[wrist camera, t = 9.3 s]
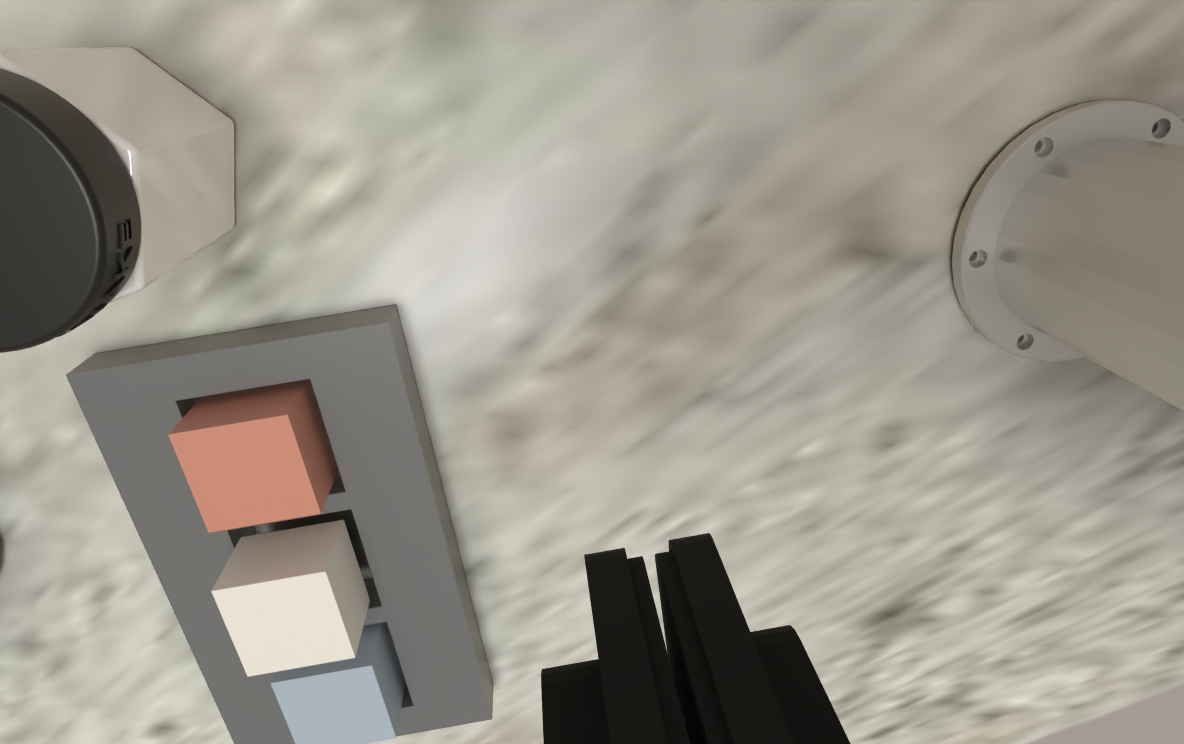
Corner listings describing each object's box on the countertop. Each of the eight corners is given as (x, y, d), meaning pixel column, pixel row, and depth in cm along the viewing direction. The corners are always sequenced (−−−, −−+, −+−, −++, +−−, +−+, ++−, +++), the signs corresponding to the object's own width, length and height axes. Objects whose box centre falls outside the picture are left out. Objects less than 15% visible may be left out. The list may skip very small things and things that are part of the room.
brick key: (310, 376, 36) (287, 414, 32) (339, 468, 38) (320, 513, 34) (203, 394, 36) (168, 434, 32) (238, 485, 38) (208, 532, 34)
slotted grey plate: (396, 304, 36) (388, 322, 34) (493, 685, 46) (492, 719, 43) (94, 353, 35) (65, 375, 33) (257, 727, 45) (243, 763, 43)
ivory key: (344, 519, 37) (325, 571, 34) (370, 600, 39) (355, 657, 36) (241, 537, 37) (211, 591, 34) (272, 617, 39) (247, 676, 36)
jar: (101, 285, 34) (-92, 400, 23) (-19, 105, 31) (-310, 139, 20) (284, 212, 34) (175, 295, 23) (181, 21, 31) (-4, 10, 20)
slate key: (384, 610, 42) (371, 665, 38) (406, 679, 44) (396, 737, 40) (291, 626, 41) (270, 683, 38) (318, 695, 43) (300, 755, 40)
